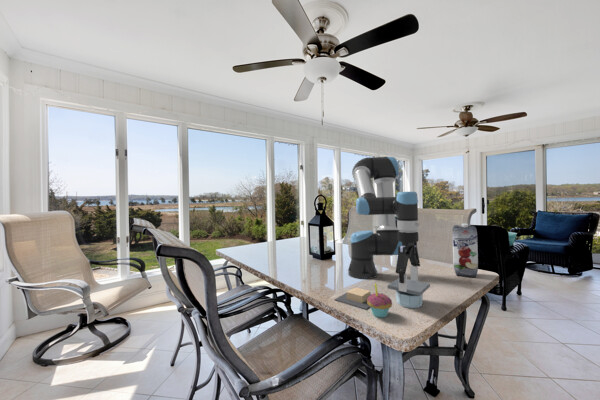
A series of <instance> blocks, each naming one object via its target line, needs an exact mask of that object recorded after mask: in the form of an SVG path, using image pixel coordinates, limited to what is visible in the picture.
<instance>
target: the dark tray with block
mask: <svg viewBox="0 0 600 400" xmlns="http://www.w3.org/2000/svg"><path fill="white" fill-rule="evenodd" d="M369 295H372V294H371V290H367V289H363V288H359V287H353V288H351V289H349V290H348V291H346V292H345V293H343V294H342V295H340V296H338V297H336V298H335V299H334V301H336V302H339V303H342V304H346V305H349V306H353V307H354V308H355V307H356V308H358V309H362V310H364V311H366V310H368V309H371V307H370V306H369V305H368V304H367V298H368V297H369Z"/></svg>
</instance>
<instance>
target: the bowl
mask: <svg viewBox="0 0 600 400" xmlns="http://www.w3.org/2000/svg"><path fill="white" fill-rule="evenodd" d="M423 294H424V293H423ZM423 294H422V295H421V296H419V295H414V294H410V293H406V292H401V291H397V290H395V300H396V303H397V304H398V305H399V306H401V307H404V308H408V309H419V308H421V307H422V306H423V303H424V300H423V299H424V296H423Z"/></svg>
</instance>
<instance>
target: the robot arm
mask: <svg viewBox="0 0 600 400" xmlns="http://www.w3.org/2000/svg"><path fill="white" fill-rule="evenodd" d="M399 170H400V168H399V163H398V161H397V158H395V157H394V156H387V155H386V156H379V157H378V156H374V157H370V156H369V157H364V158H362V159H360V160H358V161H357V162H356V163H355V164H354V166H353V168H352V173H351V175H352V179H354V181H355V183H356V184H355V185H356V189H357V194H358V198H356V200H355V209H356V214H357V215H359V216H360V215H363V216H372V215H373V216H376V215H377V216H378V227H377V229H375V230H376V233H374V232H373V230H359V231H355V232H353V233H352V234H351V235H350V263H349V267H348V270H347V275H349V276H350V277H352V278H357V279H373V278H376V277H377V276H378V270H377V267H376V264H375V262H374V256H392V257H393V256H397V258H396V259H397V260H396V267H395V274H398V276H397V277H398V278H399V291H403V292H407V279H408V277H407V273H406V272H407V267H408V262H410V266H409V268H410V271H409V273H410V279H409V280H414V281H419V270H418V269H419V268H418V267H421V263H420V256H419V249H418V242H419V232H418V231H419V226H420V223H419V199H418V193H417V192H416V191H399V192H397V193H396V196H395V195H394V183H395V182H396V178H398V176H399V175H400V171H399ZM372 179H373V182H374V183H375V185H376V191H375V189H374V185H373V182H372ZM376 193H377V194H376Z"/></svg>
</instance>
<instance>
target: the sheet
mask: <svg viewBox="0 0 600 400" xmlns="http://www.w3.org/2000/svg"><path fill="white" fill-rule="evenodd" d="M386 287H387V289H388V290H393V291H396V290H397V291H399V277H398V278H397V279H395V280H393V281H392V282H390V283H389V284H387V286H386ZM429 288H431V283H428V282H424V281H419V280H418V281H414V280H410V279H408V278H407V292H406V293H410V294H414V295H419V296H421V295H422V294H424V293H425V292H426V291H427V290H428V289H429ZM401 292H403V291H401Z"/></svg>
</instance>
